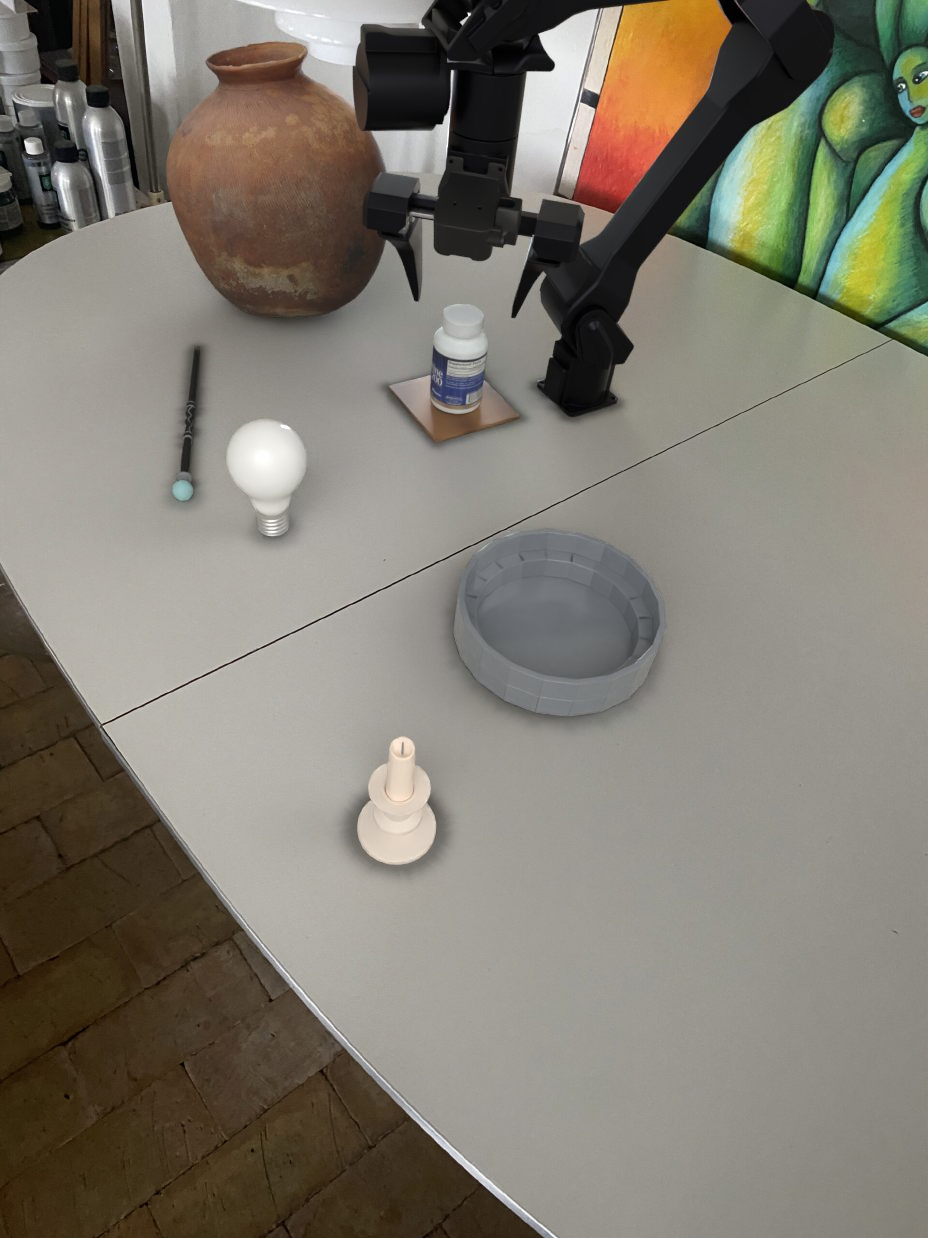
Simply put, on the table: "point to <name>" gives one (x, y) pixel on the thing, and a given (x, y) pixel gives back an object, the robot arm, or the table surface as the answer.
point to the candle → (398, 809)
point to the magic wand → (187, 439)
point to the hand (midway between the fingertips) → (465, 307)
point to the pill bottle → (459, 360)
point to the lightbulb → (267, 469)
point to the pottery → (275, 186)
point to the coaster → (448, 424)
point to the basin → (558, 621)
